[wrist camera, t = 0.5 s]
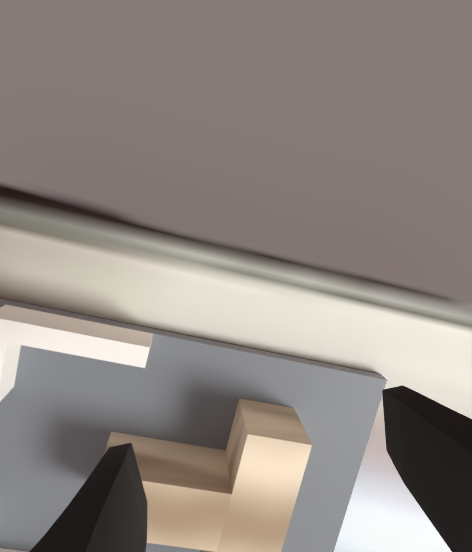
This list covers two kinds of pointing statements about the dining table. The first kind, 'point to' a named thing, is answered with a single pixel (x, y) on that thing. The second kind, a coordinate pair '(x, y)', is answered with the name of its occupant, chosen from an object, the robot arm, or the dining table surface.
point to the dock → (64, 342)
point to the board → (173, 423)
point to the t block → (225, 483)
